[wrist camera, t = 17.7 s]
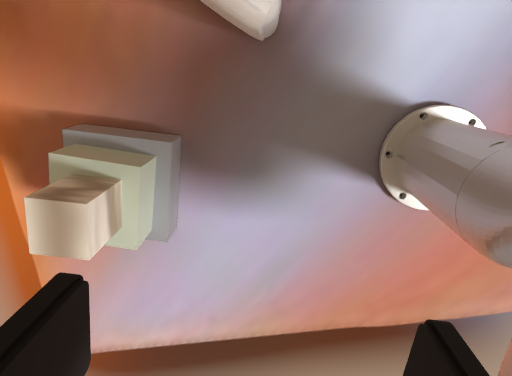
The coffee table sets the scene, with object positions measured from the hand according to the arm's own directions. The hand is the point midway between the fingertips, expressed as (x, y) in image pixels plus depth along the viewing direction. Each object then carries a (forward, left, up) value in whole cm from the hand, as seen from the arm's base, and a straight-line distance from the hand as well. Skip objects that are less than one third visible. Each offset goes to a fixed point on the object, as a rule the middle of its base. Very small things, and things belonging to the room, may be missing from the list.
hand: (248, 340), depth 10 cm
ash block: (+16, +7, -25) cm, 30 cm away
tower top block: (+16, +7, -30) cm, 35 cm away
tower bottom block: (+16, +7, -35) cm, 39 cm away
